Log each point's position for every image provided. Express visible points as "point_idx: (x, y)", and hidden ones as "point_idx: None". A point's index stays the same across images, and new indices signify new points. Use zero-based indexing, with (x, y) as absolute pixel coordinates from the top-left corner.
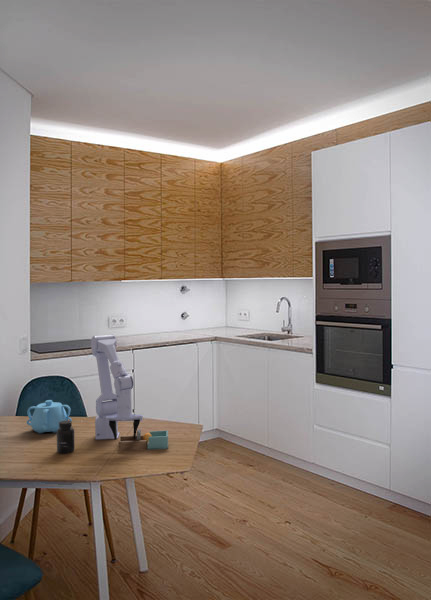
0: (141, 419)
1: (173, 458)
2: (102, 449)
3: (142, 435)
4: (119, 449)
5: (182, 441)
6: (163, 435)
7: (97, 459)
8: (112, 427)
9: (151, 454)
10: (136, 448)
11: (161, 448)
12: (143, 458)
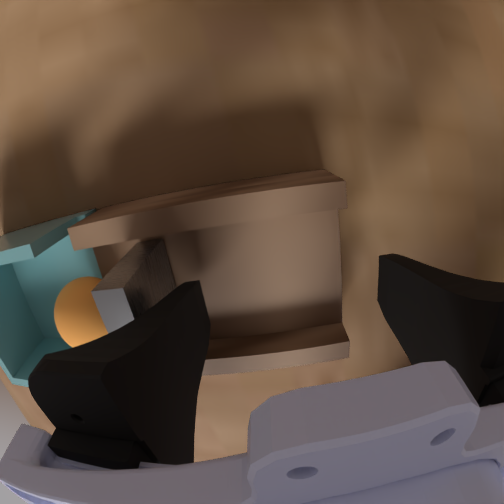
0: (22, 440)
1: None
2: (443, 209)
3: None
4: (319, 172)
5: None
6: (38, 360)
7: (422, 9)
8: (493, 287)
9: (50, 116)
10: (169, 194)
11: (24, 229)
12: (86, 31)
